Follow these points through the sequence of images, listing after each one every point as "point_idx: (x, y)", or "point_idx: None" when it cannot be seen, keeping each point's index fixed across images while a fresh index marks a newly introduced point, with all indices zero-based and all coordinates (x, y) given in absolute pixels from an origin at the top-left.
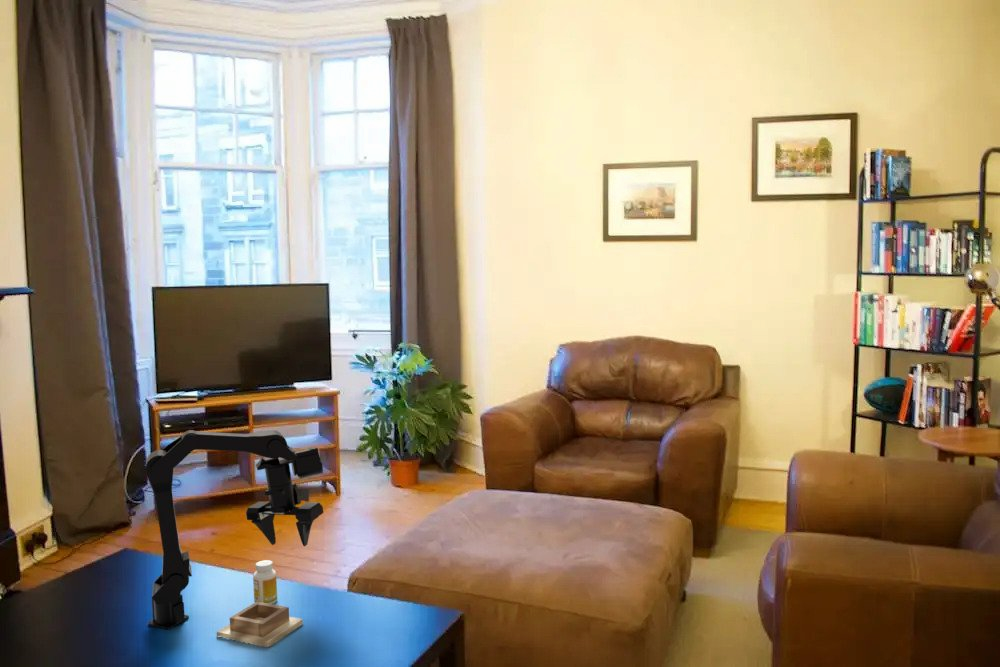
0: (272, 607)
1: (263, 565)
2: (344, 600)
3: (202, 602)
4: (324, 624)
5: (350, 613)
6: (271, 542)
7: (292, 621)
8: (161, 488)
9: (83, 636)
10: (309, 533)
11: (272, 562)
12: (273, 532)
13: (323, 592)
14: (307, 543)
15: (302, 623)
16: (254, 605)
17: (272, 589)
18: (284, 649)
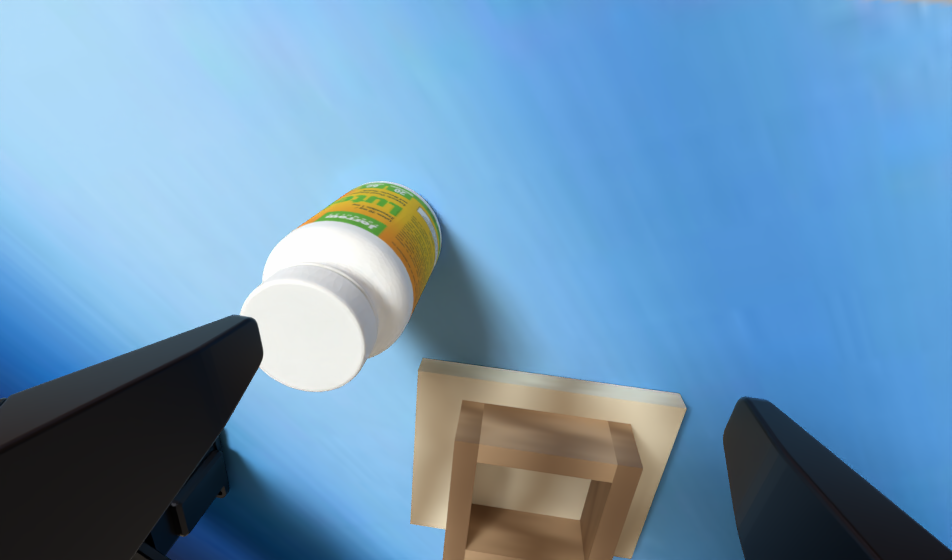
0: (562, 474)
1: (331, 379)
2: (821, 114)
3: (134, 298)
4: (781, 379)
5: (894, 261)
6: (236, 392)
7: (651, 432)
8: None
9: None
10: (944, 549)
11: (352, 312)
12: (125, 416)
13: (642, 33)
14: (777, 409)
15: (680, 397)
16: (470, 471)
17: (425, 282)
18: (688, 542)
